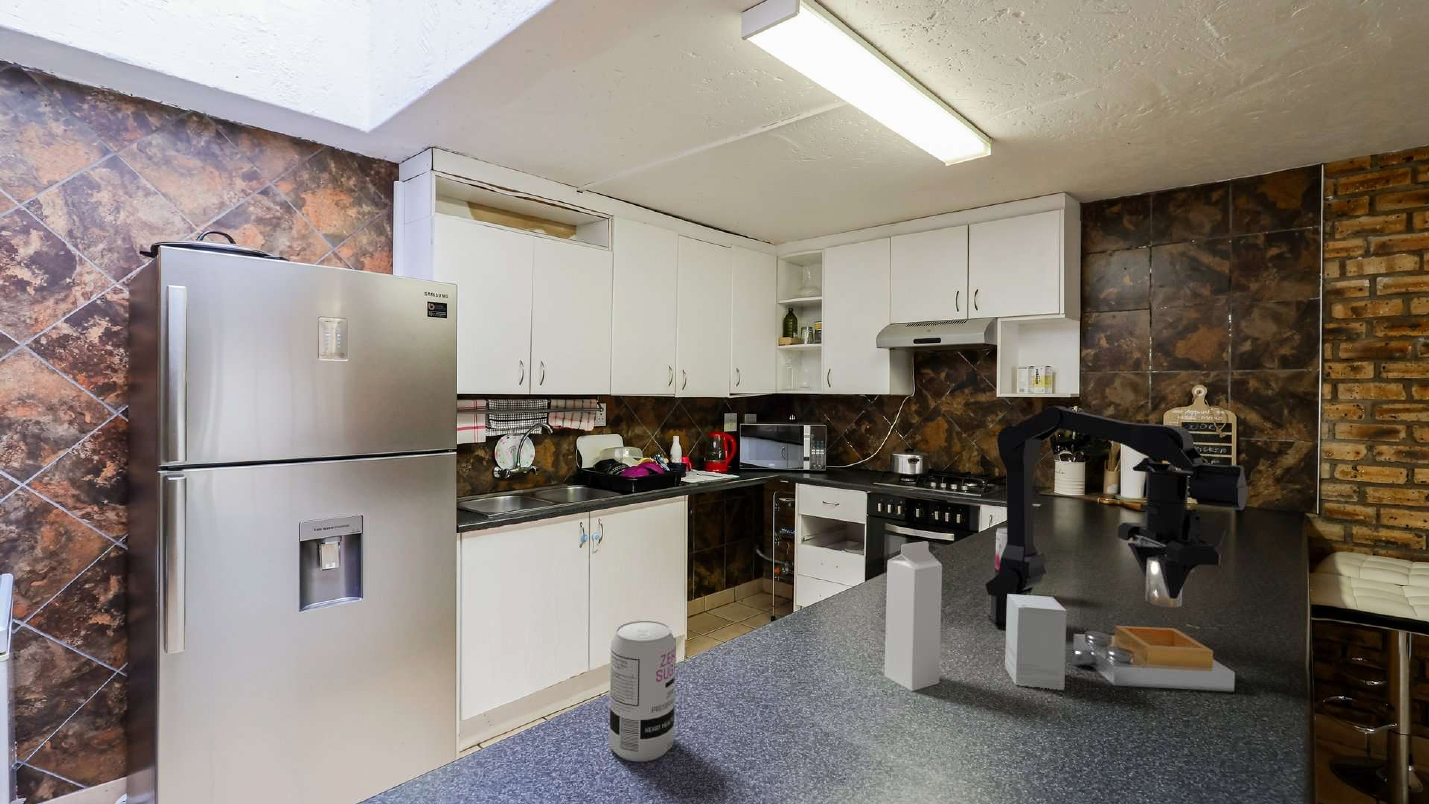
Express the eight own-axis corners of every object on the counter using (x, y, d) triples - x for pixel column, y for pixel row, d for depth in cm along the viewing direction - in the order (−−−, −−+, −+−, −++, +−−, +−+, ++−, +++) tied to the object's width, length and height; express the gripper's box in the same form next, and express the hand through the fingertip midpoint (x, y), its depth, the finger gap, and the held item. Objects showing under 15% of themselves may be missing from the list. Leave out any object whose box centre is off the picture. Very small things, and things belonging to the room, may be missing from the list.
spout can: (1156, 606, 109) (1158, 560, 109) (1139, 597, 114) (1140, 553, 114) (1202, 608, 108) (1203, 562, 108) (1182, 598, 113) (1184, 554, 113)
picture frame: (1094, 684, 105) (1095, 650, 105) (1056, 649, 119) (1057, 619, 119) (1234, 691, 104) (1235, 656, 104) (1178, 655, 118) (1179, 624, 118)
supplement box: (1065, 691, 103) (1068, 610, 102) (1014, 686, 104) (1016, 606, 104) (1051, 671, 110) (1053, 596, 110) (1003, 667, 111) (1006, 592, 111)
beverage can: (991, 597, 149) (993, 531, 149) (997, 590, 155) (999, 526, 154) (1023, 603, 145) (1025, 535, 145) (1028, 595, 151) (1030, 530, 151)
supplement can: (611, 730, 88) (613, 619, 88) (673, 729, 89) (675, 618, 89) (606, 765, 80) (608, 642, 80) (674, 763, 81) (676, 641, 81)
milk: (939, 684, 105) (944, 545, 104) (911, 692, 102) (916, 549, 101) (910, 669, 110) (915, 537, 109) (883, 676, 107) (887, 540, 106)
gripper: (1259, 512, 101) (1255, 614, 101) (1181, 493, 120) (1178, 579, 120) (1182, 510, 102) (1178, 611, 102) (1117, 491, 120) (1114, 576, 121)
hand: (1163, 593), depth 111 cm, fingers closed on spout can, 5 cm apart
